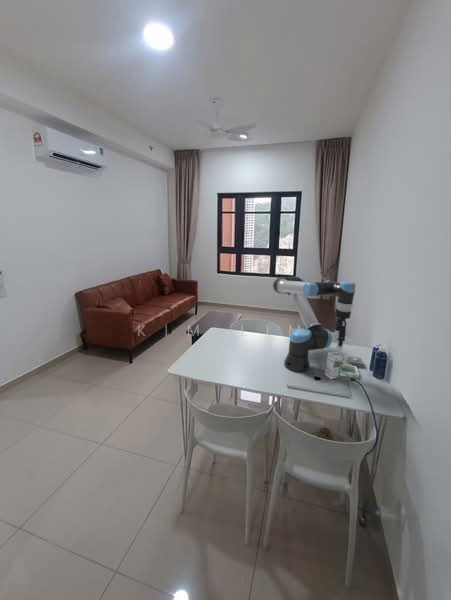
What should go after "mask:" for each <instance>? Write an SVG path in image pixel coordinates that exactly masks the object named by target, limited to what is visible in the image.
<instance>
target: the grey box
mask: <svg viewBox="0 0 451 600" xmlns="http://www.w3.org/2000/svg"><path fill="white" fill-rule="evenodd" d="M346 361H347V365H348V364H349V365H350V364H352V366H356V367H357V370H358V369H364V361H363V360H362V358H361V357H355V356H349V355H348V356H347V358H346ZM358 371H359V370H358Z"/></svg>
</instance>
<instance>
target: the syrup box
mask: <svg viewBox="0 0 451 600" xmlns="http://www.w3.org/2000/svg"><path fill="white" fill-rule="evenodd" d="M343 357H344V356H343V355H342V354H341V353H340V352H339V351H331V352H329V351H328V353H327V358H326V364H325V371H324V374H325V373H326V374H328V375H329V376H330V377H338V376H339V377H340V369H341V364H343Z"/></svg>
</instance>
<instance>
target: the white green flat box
mask: <svg viewBox="0 0 451 600" xmlns="http://www.w3.org/2000/svg"><path fill="white" fill-rule="evenodd" d="M357 369H358V367H356V366H352V364H350V365H349V364H348V363H344V362H342V364H341V369H340V373H342V374H345V375H346V376H347V377H346V378H351V379H356V380H360V373H359V370H357Z"/></svg>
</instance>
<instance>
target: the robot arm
mask: <svg viewBox="0 0 451 600" xmlns="http://www.w3.org/2000/svg"><path fill="white" fill-rule="evenodd" d="M272 288H273V291H275V293H277V294H280V295H281V294H282V295H288V298H289V299H292V301H293V303H294V305H295V308H296V310H297V311H298V314H299V316H300V319H301V320H302V322H303V323H302V324H303V325H304V327H305V328H302V327H301V328H300V327H298V328H294V329H293V330H292V331H291V332H290V336H289V346H288V353H287V355H286V357H285V359H284V363H283V365H284V367H285V368H286V369H287V370H289V371H291V372H296V373H306V372H308V371H309V370H310V366H311V365H310V360H309V353H310V352H309V351H314V350H315V351H316V350H323V349H327V348H329V347H330V346H331V345H332V341H333V342H337V344H336V349H335V352H339V353H340V352H342V351H343V347H344V342H345V340H346V328H347V321H346V320H348V319H350V318H351V314H352V307H354V305H353V302H354V297H355V293H356V283H355V282H354V281H349V280H342V281H340V282H337V281H334V280H329V279H328V280H325V281H318V282H316V281H306V280H305V279H304V278H303V277H301V276H295V275H294V276H281V277H278V278H276V279H275V280H274V281H273V283H272ZM320 296H321V297H322V296H334V297H336V298H337V301H336V305H335V306H336V307H335V308H336V309H335V313H334V316H335V317H336V322H335V326H334V335H332V332H331V331H330V330H329V329H327V328H324V326H323V324H321V323H319V320H318V319H317V316H316V315H315V313H314V311H313V309H312V307H311V304H310V302H309V301H308V298H307V297H320ZM307 370H308V371H307Z"/></svg>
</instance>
